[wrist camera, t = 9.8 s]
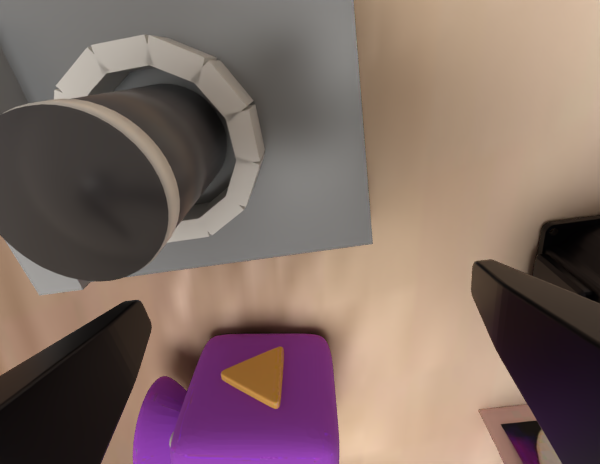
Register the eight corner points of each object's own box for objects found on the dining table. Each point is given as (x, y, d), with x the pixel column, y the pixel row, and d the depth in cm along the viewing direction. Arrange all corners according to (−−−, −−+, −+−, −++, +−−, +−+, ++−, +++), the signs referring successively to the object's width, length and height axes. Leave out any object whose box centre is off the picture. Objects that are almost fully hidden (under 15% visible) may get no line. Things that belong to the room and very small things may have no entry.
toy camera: (145, 334, 26) (61, 478, 17) (322, 305, 24) (332, 446, 16) (195, 423, 31) (149, 572, 22) (346, 403, 29) (363, 555, 20)
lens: (211, 73, 15) (124, 85, 8) (239, 183, 17) (191, 271, 10) (101, 93, 15) (-76, 122, 8) (143, 198, 18) (32, 292, 10)
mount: (339, -63, 15) (354, -120, 10) (364, 220, 21) (381, 267, 17) (-29, 15, 17) (-164, -2, 12) (94, 258, 23) (38, 312, 18)
